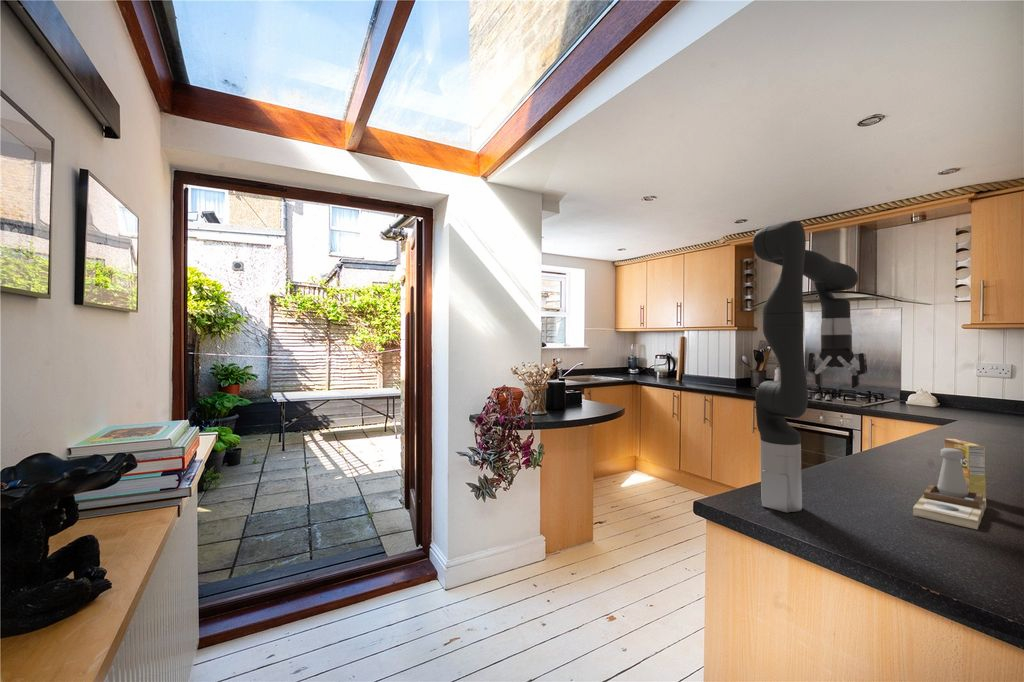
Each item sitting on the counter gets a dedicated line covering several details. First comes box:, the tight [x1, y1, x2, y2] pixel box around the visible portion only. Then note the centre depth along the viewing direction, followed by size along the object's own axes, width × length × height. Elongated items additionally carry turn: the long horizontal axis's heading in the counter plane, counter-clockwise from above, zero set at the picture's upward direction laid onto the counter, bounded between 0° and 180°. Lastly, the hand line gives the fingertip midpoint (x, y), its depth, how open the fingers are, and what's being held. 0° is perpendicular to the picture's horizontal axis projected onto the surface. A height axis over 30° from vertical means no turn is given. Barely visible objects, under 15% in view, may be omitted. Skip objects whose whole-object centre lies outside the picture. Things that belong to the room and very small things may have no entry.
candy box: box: [943, 438, 987, 500], centre depth 122 cm, size 9×4×15 cm, turn 169°
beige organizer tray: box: [912, 484, 987, 530], centre depth 111 cm, size 22×11×4 cm, turn 129°
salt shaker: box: [936, 447, 969, 499], centre depth 114 cm, size 6×6×13 cm
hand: (836, 387), depth 131 cm, fingers open, 8 cm apart
